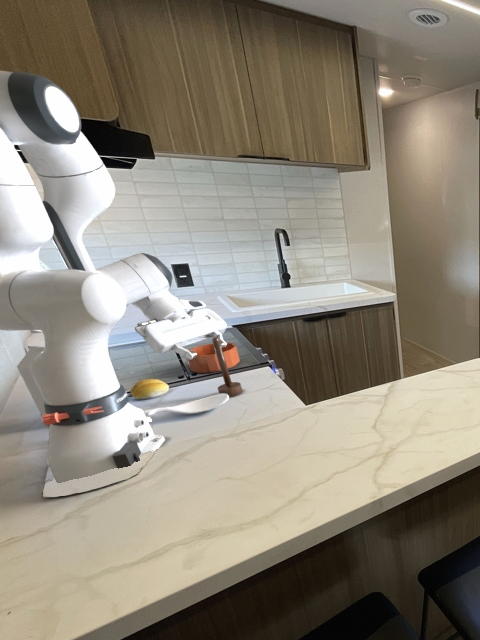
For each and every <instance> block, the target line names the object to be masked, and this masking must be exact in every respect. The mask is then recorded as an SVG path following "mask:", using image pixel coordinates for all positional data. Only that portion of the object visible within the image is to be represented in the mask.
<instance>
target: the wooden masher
mask: <svg viewBox="0 0 480 640" xmlns="http://www.w3.org/2000/svg"><path fill="white" fill-rule="evenodd" d="M211 341H212V344H213V345H214V348H215V352H216V355H217V358H218V362H219V365H220V369H221V371H220V372H221V375H222V378H223V384H220V385H219V386H217V391H218V394H227V395H228V396H229V398H233V397H236V396H240V395H241V394H243V388H242V384H241V383H240V382H238V381H232V379H231V375H230V372H229V368H227V365H226V361H225V358H224V354H223V351H222V347H221V344H220V341H219V338H217V337H214V338H213V337H212V339H211Z"/></svg>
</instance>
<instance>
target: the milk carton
mask: <svg viewBox="0 0 480 640" xmlns="http://www.w3.org/2000/svg"><path fill="white" fill-rule="evenodd" d="M26 347H27V349H28V351H27V352H26V353H25V355H24V356H23V358H22V359H21V360H20V361H19V363H18V364H17V366H16V368H17V370H18V372H19V375H20V376H21V378H22V380H23V383H24V384H25V386H26V388H27V390H28V393H29V394H30V395H31V398H32V400H33V402H34V404H35V406H36V408H37V410H38V412H39V414H40V416H41V417H42V416H43V415H44V414H45V407H44V403H45V400H44V398H43V396H42V394H41V392H40V390H39V388H38V386H37V384H36V382H35V380H34V378H33V376H32V374H31V372H30V364H31V362H32V360H33V359H34V358H35V357H36V356H37V355H39V354H40V353H42V352H43V351H44V349H45V346H36V345H27V346H26Z"/></svg>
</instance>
